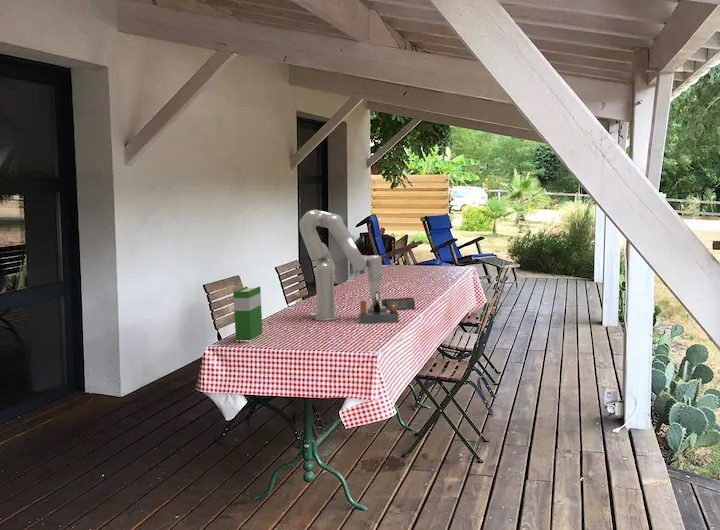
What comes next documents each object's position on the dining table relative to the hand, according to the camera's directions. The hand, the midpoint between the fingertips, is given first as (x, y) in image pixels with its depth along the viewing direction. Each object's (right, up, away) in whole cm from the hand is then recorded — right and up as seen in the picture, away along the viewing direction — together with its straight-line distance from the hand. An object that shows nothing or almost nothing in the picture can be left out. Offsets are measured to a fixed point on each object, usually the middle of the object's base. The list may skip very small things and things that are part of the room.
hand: (376, 311), depth 388 cm
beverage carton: (+13, -1, +29) cm, 32 cm away
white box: (0, -1, 0) cm, 1 cm away
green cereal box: (-62, -11, -43) cm, 76 cm away
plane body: (+1, -5, -10) cm, 12 cm away
